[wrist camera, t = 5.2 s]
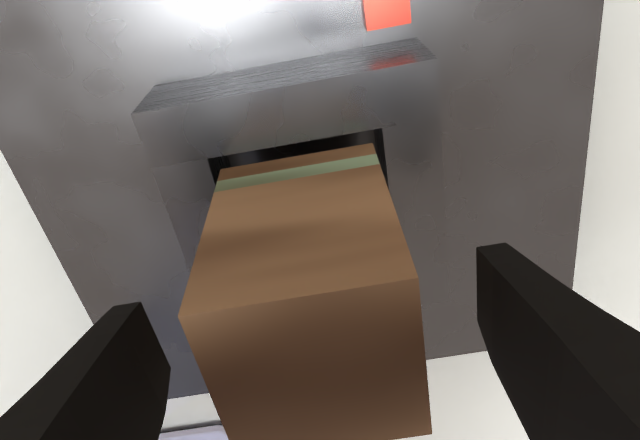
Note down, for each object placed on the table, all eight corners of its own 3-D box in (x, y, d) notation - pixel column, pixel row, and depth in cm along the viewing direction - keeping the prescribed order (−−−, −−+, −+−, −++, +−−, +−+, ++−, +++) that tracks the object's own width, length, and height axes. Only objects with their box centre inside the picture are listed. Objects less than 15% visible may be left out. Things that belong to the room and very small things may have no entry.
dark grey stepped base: (555, 321, 22) (598, 387, 19) (141, 385, 22) (118, 458, 19) (607, -233, 12) (708, -280, 9) (-98, -87, 13) (-214, -88, 10)
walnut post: (387, 266, 15) (432, 433, 10) (256, 288, 15) (237, 462, 10) (372, 142, 13) (418, 278, 8) (220, 169, 13) (177, 316, 8)
